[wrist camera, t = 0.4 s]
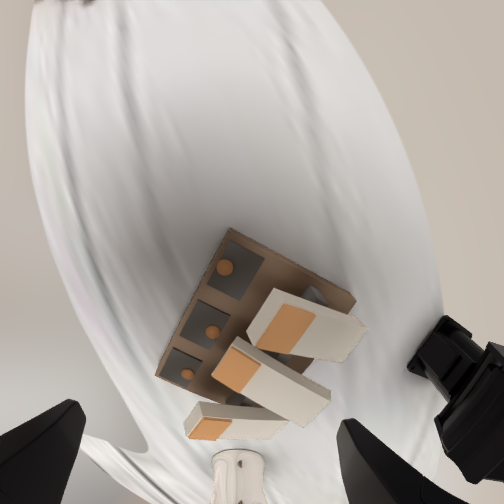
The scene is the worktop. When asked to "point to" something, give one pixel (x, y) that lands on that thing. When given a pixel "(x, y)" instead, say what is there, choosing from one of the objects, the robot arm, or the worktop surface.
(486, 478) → the robot arm
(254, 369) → the middle rocker
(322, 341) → the near rocker
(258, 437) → the far rocker
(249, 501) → the beer glass
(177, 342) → the switch unit
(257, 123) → the worktop surface
